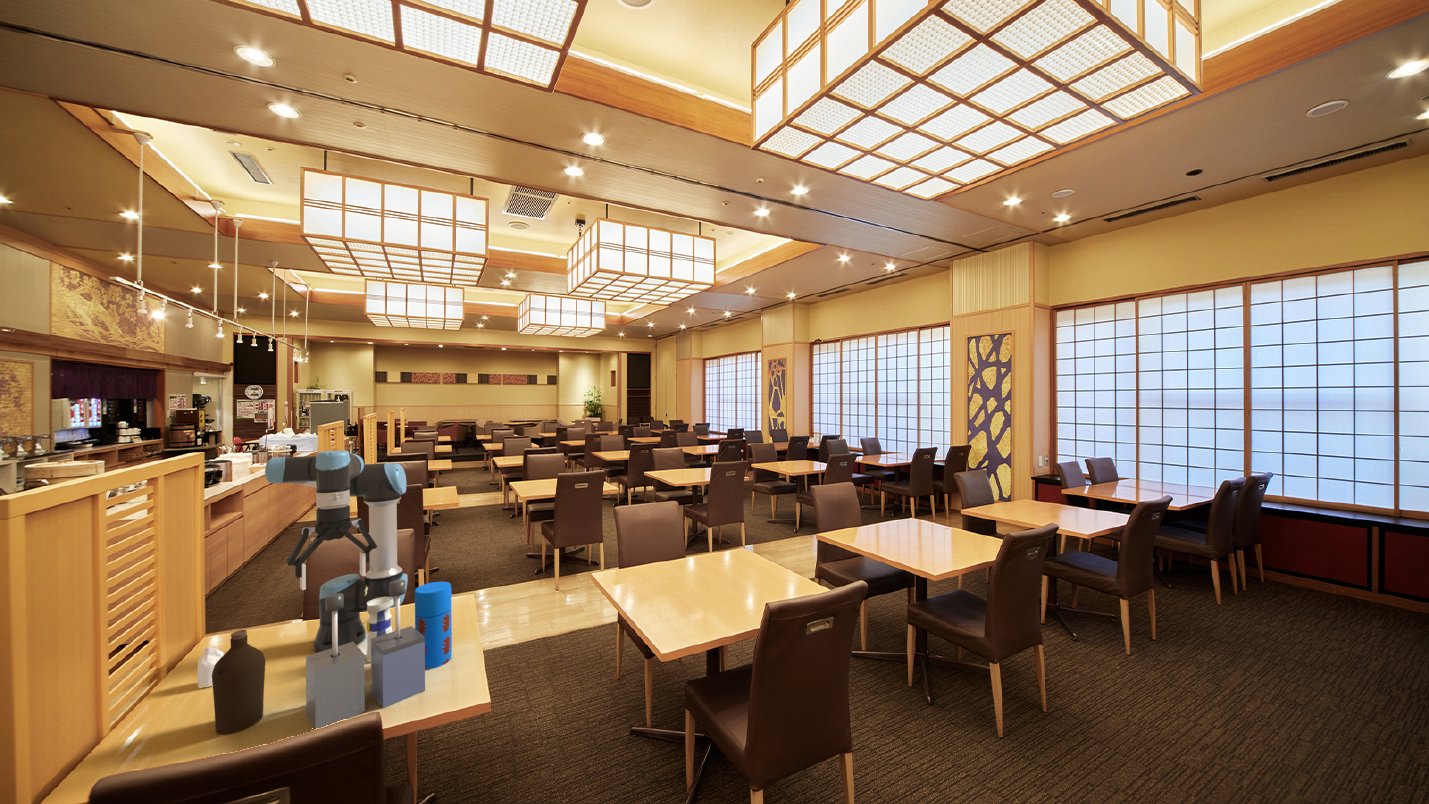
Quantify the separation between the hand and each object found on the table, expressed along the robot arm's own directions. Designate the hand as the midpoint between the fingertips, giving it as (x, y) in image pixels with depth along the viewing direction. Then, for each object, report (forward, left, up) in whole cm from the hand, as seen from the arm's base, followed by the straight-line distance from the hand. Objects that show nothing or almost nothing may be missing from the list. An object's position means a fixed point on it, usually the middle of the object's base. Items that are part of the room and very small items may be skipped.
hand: (333, 581), depth 140 cm
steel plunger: (0, 0, -24) cm, 24 cm away
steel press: (-2, 0, -37) cm, 37 cm away
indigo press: (0, +15, -37) cm, 40 cm away
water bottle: (-26, +18, -38) cm, 49 cm away
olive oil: (-15, -18, -38) cm, 44 cm away
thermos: (-9, +29, -38) cm, 49 cm away
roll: (-48, -21, -38) cm, 65 cm away
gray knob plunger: (+2, +15, -24) cm, 29 cm away
